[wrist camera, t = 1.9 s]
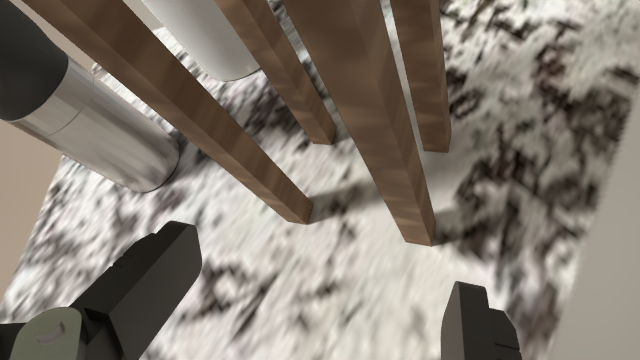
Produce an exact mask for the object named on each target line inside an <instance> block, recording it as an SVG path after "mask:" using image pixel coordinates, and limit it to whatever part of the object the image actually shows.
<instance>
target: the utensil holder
mask: <svg viewBox="0 0 640 360" xmlns="http://www.w3.org/2000/svg"><path fill="white" fill-rule="evenodd" d="M141 1H142V2H143V3H144V4H145V5H146V6H147V8H148V9H149V10H150V11H151V12H152V13H153V14H154V15H155V17H156V18H157V19H158V20H159V21H160V22H161V23H162V24H163V25H164V27H165V28H166V29H167V30H168V31H169V32H170V33H171V34H172V36H173V37H174V38H175V39H176V40H177V41H178V42H179V44H180V45H181V46H182V47H183V48H184V49H185V50H186V52H187V53H188V54H189V55H190V56H191V57H192V58H193V59H194V60H195V61H196V62H197V63H198V64H199V66H200V67H201V68H202V69H203V70H204V71H205V72H206V73H207V74H208V75H209V76H210V77H212V78H214V79H216V80H220V81H232V80H236V79H240V78H243V77H245V76H247V75H249V74H251V73H253V72H254V71H256V70H257V69H259V68H260V66H259V65H258V63H257V62H256V60H255V59H254V57H253V56H252V54H251V53H250V52H249V50H248V49H247V47H246V46H245V44H244V43H243V41H242V40H241V39H240V37H239V36H238V34H237V33H236V31H235V30H234V29H233V27H232V26H231V24H230V23H229V21H228V20H227V18H226V17H225V16H224V14H223V13H222V11H221V10H220V8H219V7H218V5H217V4H216V3H215V1H214V0H141ZM266 1H267V2H268V0H266ZM268 4H269V2H268ZM269 6H270V4H269ZM270 8H271V6H270ZM271 10H272V8H271ZM272 11H273V10H272ZM273 13H274V12H273ZM274 15H275V14H274ZM275 17H276V16H275ZM276 19H277V18H276ZM277 21H278V20H277Z"/></svg>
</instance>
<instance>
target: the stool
mask: <svg viewBox="0 0 640 360" xmlns="http://www.w3.org/2000/svg"><path fill="white" fill-rule="evenodd" d="M22 1H23V2H24V3H26V4H27V5H28V6H29V7H30V8H31V9H33V10H34V11H35V12H36V13H37V14H39V15H40V16H41V17H42V18H44V19H45V20H46V21H47V22H48V23H50V24H51V25H52V26H53V27H54V28H56V29H57V30H58V31H59V32H60V33H62V34H63V35H64V36H65V37H66V38H68V39H69V40H70V41H71V42H72V43H74V44H75V45H76V46H77V47H78V48H80V49H81V50H82V51H83V52H84V53H86V54H87V55H88V56H89V57H90V58H92V59H93V60H94V61H95V62H96V63H98V64H99V65H100V66H101V67H102V68H104V69H105V70H106V71H107V72H108V73H110V74H111V75H112V76H113V77H114V78H116V79H117V80H118V81H119V82H120V83H122V84H123V85H124V86H125V87H127V88H128V89H129V90H130V91H131V92H133V93H134V94H135V95H136V96H137V97H139V98H140V99H141V100H142V101H143V102H145V103H146V104H147V105H148V106H149V107H151V108H152V109H153V110H154V111H155V112H157V113H158V114H159V115H160V116H161V117H163V118H164V119H165V120H166V121H167V122H169V123H170V124H171V125H172V126H173V127H175V128H176V129H177V130H178V131H179V132H181V133H182V134H183V135H184V136H185V137H187V138H188V139H189V140H190V141H191V142H193V143H194V144H195V145H196V146H197V147H199V148H200V149H201V150H202V151H203V152H205V153H206V154H207V155H208V156H210V157H211V158H212V159H213V160H214V161H216V162H217V163H218V164H219V165H220V166H222V167H223V168H224V169H225V170H226V171H228V172H229V173H230V174H231V175H232V176H234V177H235V178H236V179H237V180H238V181H240V182H241V183H242V184H243V185H244V186H246V187H247V188H248V189H249V190H250V191H252V192H253V193H254V194H255V195H256V196H258V197H259V198H260V199H261V200H262V201H264V202H265V203H266V204H267V205H268V206H270V207H271V208H272V209H273V210H274V211H276V212H277V213H278V214H279V215H280V216H282V217H283V218H284V219H285V220H287V221H288V222H293V223H299V224H305V225H307V223H308V220H309V217H310V214H311V210H312V207H313V203H312V202H311V201H310V200H309V199H308V198H307V197H306V196H305V195H304V194H303V193H302V192H301V191H300V190H299V189H298V187H297V186H296V185H295V184H294V183H293V182H292V181H291V180H290V179H289V178H288V177H287V176H286V175H285V174H284V173H283V171H282V170H281V169H280V168H279V167H278V166H277V165H276V164H275V163H274V162H273V161H272V160H271V159H270V158H269V156H268V155H267V154H266V153H265V152H264V151H263V150H262V149H261V148H260V147H259V146H258V145H257V144H256V143H255V142H254V140H253V139H252V138H251V137H250V136H249V135H248V134H247V133H246V132H245V131H244V130H243V129H242V128H241V127H240V126H239V124H238V123H237V122H236V121H235V120H234V119H233V118H232V117H231V116H230V115H229V114H228V113H227V112H226V111H225V110H224V108H223V107H222V106H221V105H220V104H219V103H218V102H217V101H216V100H215V99H214V98H213V97H212V96H211V95H210V93H209V92H208V91H207V90H206V89H205V88H204V87H203V86H202V85H201V84H200V83H199V82H198V81H197V80H196V79H195V77H194V76H193V75H192V74H191V73H190V72H189V71H188V70H187V69H186V68H185V67H184V66H183V65H182V64H181V63H180V61H179V60H178V59H177V58H176V57H175V56H174V55H173V54H172V53H171V52H170V51H169V50H168V49H167V48H166V46H165V45H164V44H163V43H162V42H161V41H160V40H159V39H158V38H157V37H156V36H155V35H154V34H153V33H152V32H151V30H150V29H149V28H148V27H147V26H146V25H145V24H144V23H143V22H142V21H141V20H140V19H139V18H138V17H137V16H136V14H134V12H133V11H132V10H131V9H130V8H129V7H128V6H127V5H126V4H125V3H124V2H123V1H122V0H22ZM214 1H215V3H216V4H217V5H218V7H219V8H220V10H221V11H222V13H223V14H224V16H225V17H226V18H227V20H228V21H229V23H230V24H231V26H232V27H233V29H234V30H235V31H236V33H237V34H238V36H239V37H240V39H241V40H242V41H243V43H244V44H245V46H246V47H247V49H248V50H249V52H250V53H251V54H252V56H253V57H254V59H255V60H256V62H257V63H258V65H259V66H260V67H261V69H262V70H263V72H264V73H265V75H266V76H267V78H268V79H269V80H270V82H271V83H272V85H273V86H274V88H275V89H276V91H277V92H278V93H279V95H280V96H281V98H282V99H283V101H284V102H285V104H286V105H287V106H288V108H289V109H290V111H291V112H292V114H293V115H294V117H295V118H296V119H297V121H298V122H299V124H300V125H301V127H302V128H303V129H304V131H305V132H306V134H307V135H308V137H309V138H310V140H311V141H312V142H313V144H326V145H332V142H333V139H334V135H335V132H336V129H337V127H336V125H335V123H334V122H333V120H332V118H331V116H330V114H329V112H328V111H327V109H326V107H325V105H324V103H323V102H322V100H321V98H320V96H319V94H318V93H317V91H316V89H315V87H314V85H313V84H312V82H311V80H310V78H309V76H308V75H307V73H306V71H305V69H304V67H303V66H302V64H301V62H300V60H299V58H298V57H297V55H296V53H295V51H294V49H293V48H292V46H291V44H290V42H289V40H288V39H287V37H286V35H285V33H284V31H283V30H282V28H281V26H280V24H279V22H278V21H277V19H276V17H275V15H274V13H273V11H272V10H271V8H270V6H269V4H268V2H267V1H266V0H214ZM281 1H282V3H283V5H284V6H285V8H286V10H287V12H288V14H289V16H290V18H291V20H292V22H293V24H294V26H295V28H296V30H297V32H298V34H299V36H300V38H301V39H302V41H303V43H304V45H305V47H306V49H307V51H308V53H309V55H310V57H311V59H312V61H313V63H314V65H315V67H316V69H317V71H318V73H319V74H320V76H321V78H322V80H323V82H324V84H325V86H326V88H327V90H328V92H329V94H330V96H331V98H332V100H333V102H334V104H335V106H336V108H337V109H338V111H339V113H340V115H341V117H342V119H343V121H344V123H345V125H346V127H347V129H348V131H349V133H350V135H351V137H352V139H353V141H354V142H355V144H356V146H357V148H358V150H359V152H360V154H361V156H362V158H363V160H364V162H365V164H366V166H367V168H368V170H369V172H370V174H371V176H372V177H373V179H374V181H375V183H376V185H377V187H378V189H379V191H380V193H381V195H382V197H383V199H384V201H385V203H386V205H387V207H388V209H389V211H390V212H391V214H392V216H393V218H394V220H395V222H396V224H397V226H398V228H399V230H400V232H401V234H402V236H403V238H404V240H405V242H408V243H414V244H420V245H425V246H431V247H432V242H433V236H434V231H435V225H436V220H435V217H434V213H433V209H432V205H431V201H430V197H429V193H428V189H427V185H426V181H425V177H424V173H423V169H422V165H421V162H420V158H419V154H418V150H417V146H416V142H415V138H414V134H413V130H412V126H411V122H410V118H409V114H408V110H407V107H406V103H405V99H404V95H403V91H402V87H401V83H400V79H399V75H398V71H397V67H396V63H395V59H394V55H393V51H392V48H391V44H390V40H389V36H388V32H387V28H386V24H385V20H384V16H383V12H382V8H381V4H380V0H281ZM390 4H391V8H392V13H393V17H394V21H395V26H396V30H397V35H398V39H399V43H400V48H401V52H402V57H403V61H404V65H405V70H406V74H407V79H408V83H409V87H410V92H411V96H412V101H413V105H414V109H415V114H416V118H417V123H418V127H419V131H420V136H421V140H422V145H423V149H424V151H432V152H447V153H448V149H449V144H450V138H451V123H450V113H449V103H448V93H447V83H446V73H445V62H444V52H443V42H442V32H441V22H440V12H439V1H438V0H390Z"/></svg>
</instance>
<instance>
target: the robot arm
mask: <svg viewBox="0 0 640 360" xmlns="http://www.w3.org/2000/svg"><path fill="white" fill-rule="evenodd" d="M0 119H2V120H4V121H6V122H7V123H9V124H11V125H13V126H15V127H17V128H19V129H20V130H22V131H24V132H26V133H28V134H29V135H31V136H33V137H35V138H37V139H39V140H41V141H43V142H44V143H46V144H48V145H50V146H52V147H54V148H55V149H57V150H59V151H61V152H62V153H63V154H64V155H65V156H67V157H68V158H70V159H72V160H74V161H76V162H78V163H80V164H81V165H83V166H85V167H87V168H89V169H91V170H93V171H94V172H96V173H98V174H100V175H102V176H104V177H105V178H107V179H109V180H111V181H113V182H115V183H117V184H118V185H120V186H122V187H127V188H128V189H130V190H132V191H134V192H138V193H144V192H149V191H151V190H154V189H155V188H157V187H159V186H160V185H161V184H162V183H164V182H165V181H166V180H167V179H168V178H169V176H170V175H171V174H172V172H173V171H174V169H175V167H176V165H177V162H178V159H179V153H180V152H179V146H178V143H177V142H176V140H175V139H174V138H172V137H171V136H170V135H169V134H167V133H166V132H165V131H163V130H162V129H161V128H160V127H158V126H157V125H156V124H155V123H154V122H152V121H151V120H150V119H149V118H147V117H146V116H145V115H143V114H142V113H141V112H140V111H138V110H137V109H136V108H135V107H133V106H132V105H131V104H130V103H128V102H127V101H126V100H125V99H123V98H122V97H121V96H120V95H118V94H117V93H116V92H114V91H113V90H112V89H111V88H109V87H108V86H107V85H106V84H104V83H103V82H102V81H101V80H99V79H98V78H97V77H96V76H94V75H93V74H92V73H90V72H89V71H88V70H87V69H85V68H84V67H83V66H81V65H80V64H79V63H78V62H76V61H75V60H74V59H72V58H71V57H70V56H69V55H68V54H66V53H65V52H64V51H62V50H61V49H60V48H59V47H58V46H56V45H55V44H54V43H53V42H52V41H51V40H50V39H49V38H48V37H47V35H46V34H45V33H44V32H43V31H42V30H41V29H40V28H39V27H38V26H37V25H36V23H34V22H33V21H32V20H31V19H30V18H29V17H28V16H27V15H25V14H24V13H23V12H22V11H21V10H20V9H19V8H17V7H16V6H15V5H14V4H13V3H11V2H10V1H9V0H0ZM201 267H202V256H201V250H200V245H199V239H198V233H197V229H196V227H195V226H194V225H191V224H187V223H182V222H177V221H169V222H167V223H166V224H165V225H164V226H163V227H162V228H161V229H160V230H159V231H158V232H157V233H156V234H155V233H151V234H149V235H147V236H145V237H144V238H142V239H140V240H138V241H136V242H135V243H134V244H133V245H132V246H131V247H130V248H129V249H128V250H127V251H126V252H125V253H124V254H123V256H122V257H120V258H119V259H118V260H116V261H115V262H114V263H113V266H112V267H111V266H110V267H109V268H108V269H107V270H106V271H105V272H104V273H103V274H102V275H101V276H100V277H99V278H98V279H97V280H96V281H95V282H94V283H93V284H92V285H91V286H90V287H89V288H88V289H87V290H86V291H85V292H84V293H83V294H82V295H81V296H79V297H78V298H77V299H76V300H75V301H74V302H73V303H72V304H71V305H70V306H69V307H58V308H53V309H50V310H47V311H45V312H43V313H41V314H39V315H37V316H35V317H34V318H32V319H31V320H30V321H29V322H27V323H11V324H0V360H139V358H140V357H141V355H142V354H143V353H144V351H145V350H146V348H147V347H148V346H149V344H150V343H151V342H152V340H153V339H154V337H155V336H156V335H157V333H158V332H159V331H160V329H161V328H162V326H163V325H164V324H165V322H166V321H167V319H168V318H169V317H170V315H171V314H172V313H173V311H174V310H175V308H176V307H177V306H178V304H179V303H180V301H181V300H182V299H183V297H184V296H185V295H186V293H187V292H188V290H189V289H190V288H191V286H192V285H193V284H194V282H195V281H196V279H197V278H198V276H199V274H200V271H201ZM519 350H520V347H519V343H518V338H517V334H516V329H515V328H514V326H513V325H512V323H511V322H510V320H509V319H508V317H507V316H506V314H505V313H504V311H501V310H496V309H492V308H489V304H488V298H487V292H486V289H485V287H483V286H478V285H473V284H468V283H464V282H459V281H456V282H455V284H454V286H453V289H452V292H451V295H450V298H449V301H448V304H447V307H446V310H445V313H444V316H443V321H442V327H441V360H522V356H521V353H520V352H519Z"/></svg>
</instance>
